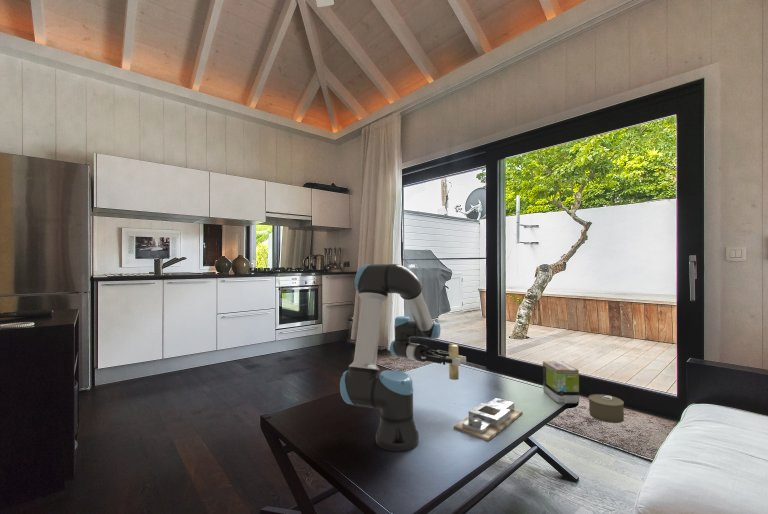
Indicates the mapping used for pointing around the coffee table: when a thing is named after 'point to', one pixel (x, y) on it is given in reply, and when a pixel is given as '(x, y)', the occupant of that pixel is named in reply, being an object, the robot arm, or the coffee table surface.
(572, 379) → the tea box
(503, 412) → the metal square socket
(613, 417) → the olive round block
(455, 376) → the pin
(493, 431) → the joining board
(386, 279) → the robot arm
